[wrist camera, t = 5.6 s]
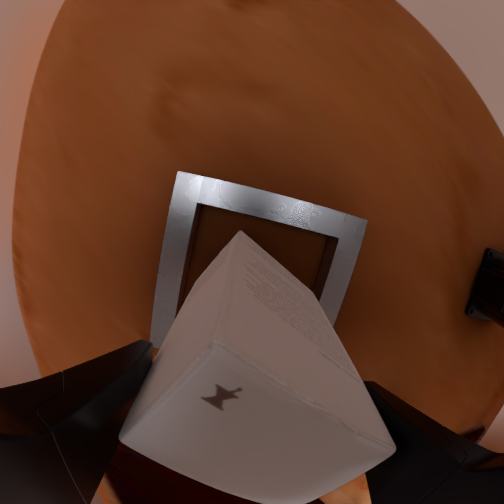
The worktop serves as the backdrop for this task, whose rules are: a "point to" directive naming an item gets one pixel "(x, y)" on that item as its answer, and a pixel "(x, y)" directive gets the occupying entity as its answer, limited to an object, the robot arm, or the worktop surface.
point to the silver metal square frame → (260, 205)
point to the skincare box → (256, 389)
